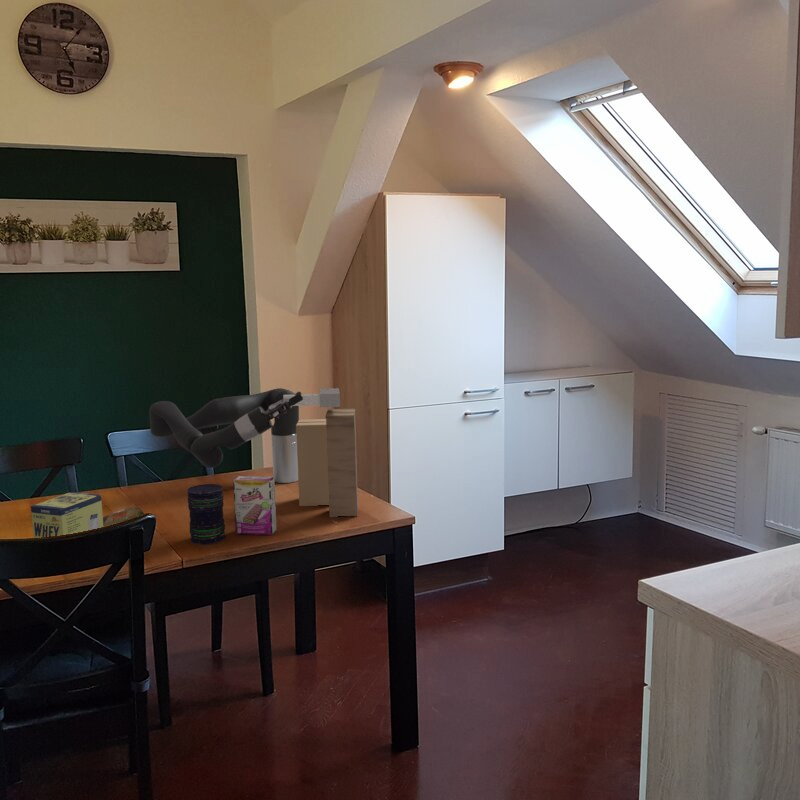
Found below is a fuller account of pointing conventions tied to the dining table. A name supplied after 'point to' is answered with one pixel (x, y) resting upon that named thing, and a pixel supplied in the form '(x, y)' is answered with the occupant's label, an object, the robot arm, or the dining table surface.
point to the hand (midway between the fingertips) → (301, 395)
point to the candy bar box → (254, 505)
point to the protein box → (67, 515)
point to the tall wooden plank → (342, 462)
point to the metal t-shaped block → (319, 398)
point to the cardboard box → (312, 462)
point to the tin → (122, 516)
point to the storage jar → (206, 514)
